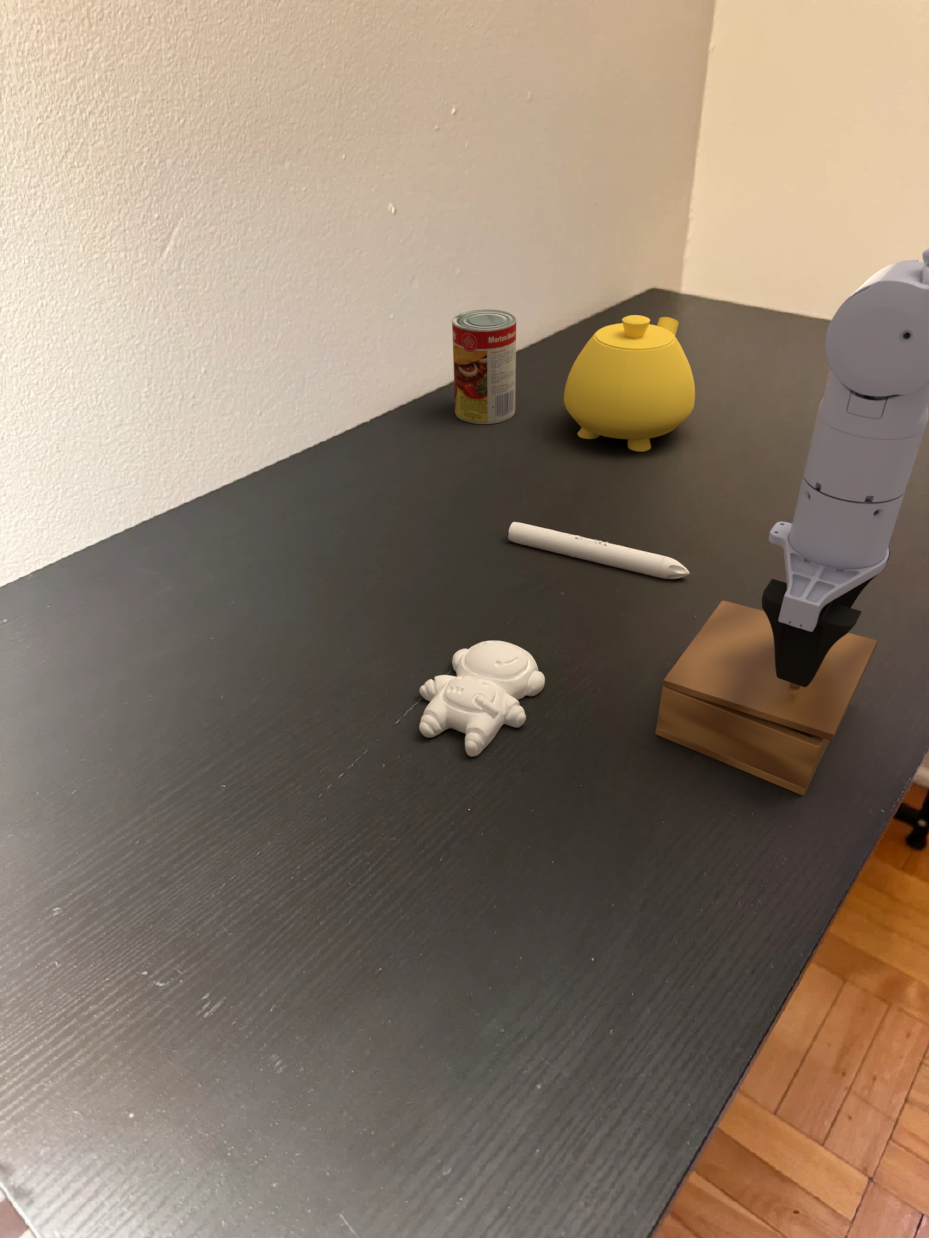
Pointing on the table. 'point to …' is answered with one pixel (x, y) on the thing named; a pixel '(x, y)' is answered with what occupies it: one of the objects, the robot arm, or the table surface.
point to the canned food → (484, 365)
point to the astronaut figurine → (481, 693)
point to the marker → (596, 551)
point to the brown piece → (768, 672)
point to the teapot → (631, 382)
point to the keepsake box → (741, 740)
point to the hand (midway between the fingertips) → (805, 657)
